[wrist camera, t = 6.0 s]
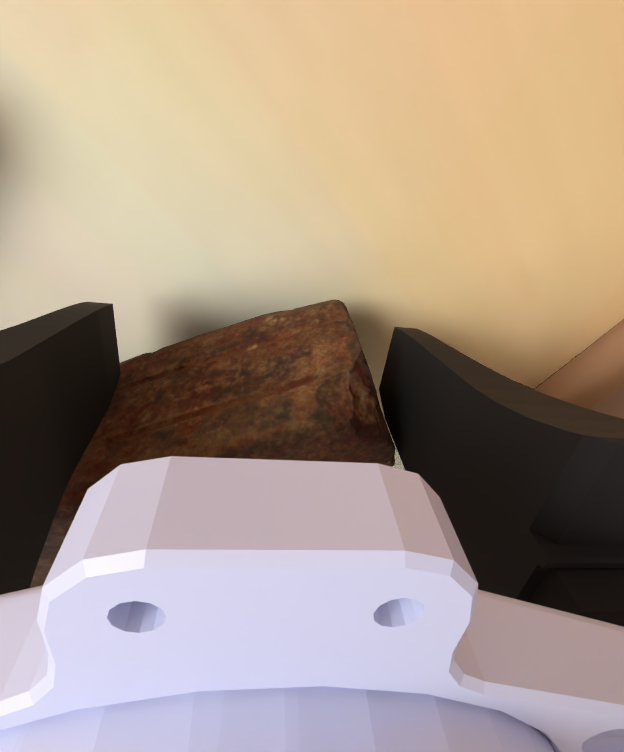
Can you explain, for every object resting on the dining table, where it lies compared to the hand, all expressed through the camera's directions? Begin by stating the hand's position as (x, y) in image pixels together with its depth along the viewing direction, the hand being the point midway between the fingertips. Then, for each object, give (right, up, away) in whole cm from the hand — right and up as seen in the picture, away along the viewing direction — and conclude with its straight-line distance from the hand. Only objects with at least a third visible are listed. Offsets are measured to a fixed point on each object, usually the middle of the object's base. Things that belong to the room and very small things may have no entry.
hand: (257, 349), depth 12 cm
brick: (-2, -1, +2) cm, 3 cm away
